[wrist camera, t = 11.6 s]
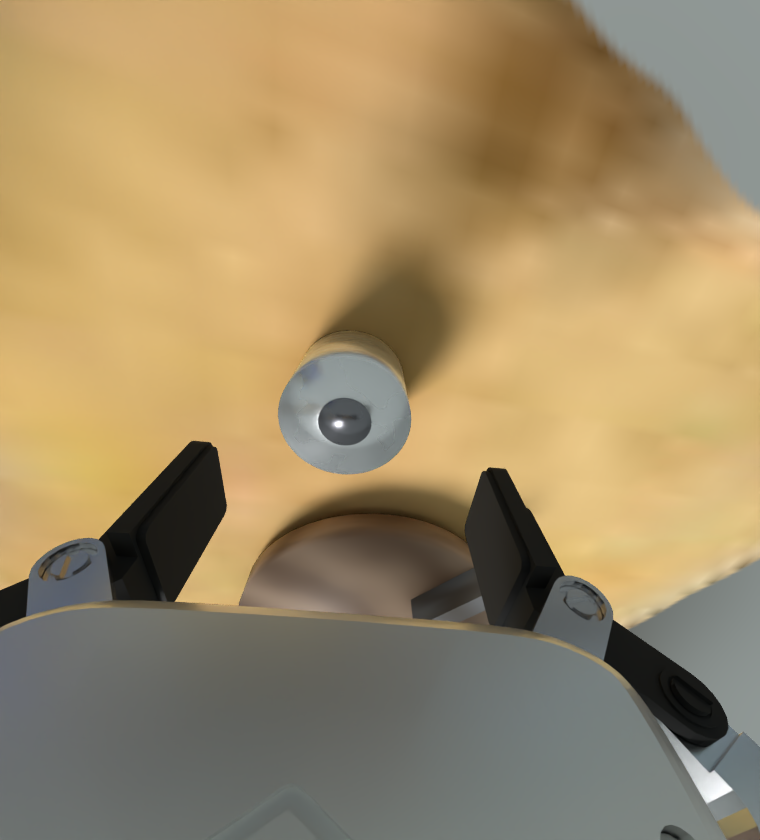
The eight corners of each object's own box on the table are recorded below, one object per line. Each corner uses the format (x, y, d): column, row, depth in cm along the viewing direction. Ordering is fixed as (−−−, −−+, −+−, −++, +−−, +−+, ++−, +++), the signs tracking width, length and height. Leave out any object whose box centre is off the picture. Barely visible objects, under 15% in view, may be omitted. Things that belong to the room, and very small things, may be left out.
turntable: (361, 685, 38) (359, 736, 34) (195, 595, 29) (168, 649, 26) (536, 609, 31) (559, 662, 27) (385, 464, 23) (387, 511, 19)
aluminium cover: (300, 423, 22) (280, 471, 18) (298, 324, 19) (273, 352, 14) (396, 431, 22) (402, 480, 18) (410, 336, 19) (421, 366, 15)
